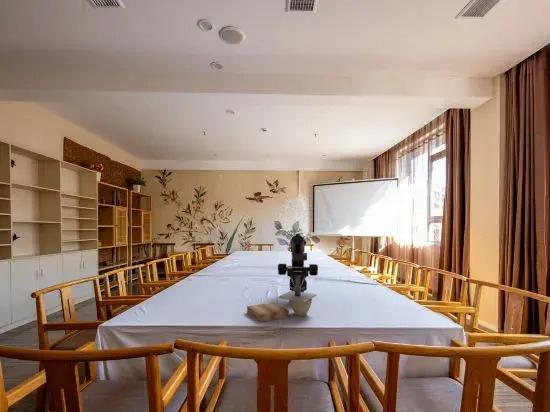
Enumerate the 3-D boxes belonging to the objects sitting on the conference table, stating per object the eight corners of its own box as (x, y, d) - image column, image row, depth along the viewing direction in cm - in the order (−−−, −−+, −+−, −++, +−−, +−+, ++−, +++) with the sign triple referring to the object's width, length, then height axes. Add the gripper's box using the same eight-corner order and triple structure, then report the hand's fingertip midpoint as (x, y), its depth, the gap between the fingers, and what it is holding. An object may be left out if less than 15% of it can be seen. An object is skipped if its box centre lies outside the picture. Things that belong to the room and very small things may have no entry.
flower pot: (310, 318, 126) (310, 301, 126) (288, 316, 128) (288, 300, 128) (312, 311, 136) (312, 296, 136) (291, 310, 138) (291, 294, 138)
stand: (273, 308, 140) (273, 302, 140) (288, 317, 128) (288, 310, 128) (247, 312, 133) (247, 306, 133) (260, 322, 121) (260, 314, 121)
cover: (291, 291, 141) (291, 274, 141) (316, 295, 134) (316, 276, 134) (278, 297, 129) (278, 278, 130) (304, 302, 123) (304, 281, 123)
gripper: (278, 246, 137) (276, 274, 126) (317, 247, 136) (319, 275, 125) (279, 260, 145) (277, 288, 133) (316, 261, 144) (318, 289, 132)
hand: (297, 285), depth 131 cm, fingers closed on cover, 3 cm apart
